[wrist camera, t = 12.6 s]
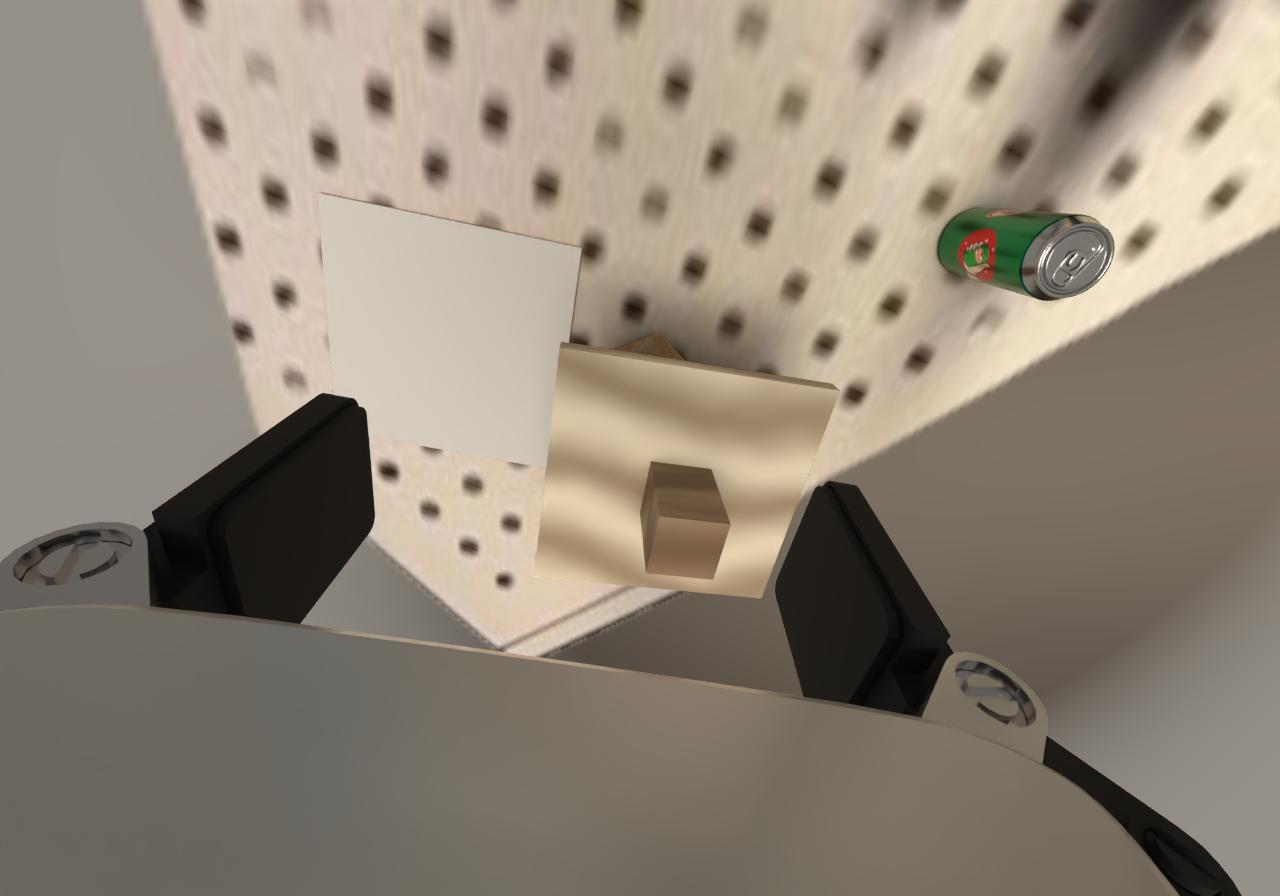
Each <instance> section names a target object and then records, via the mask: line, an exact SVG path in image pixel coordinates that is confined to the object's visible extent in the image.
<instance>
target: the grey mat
mask: <svg viewBox="0 0 1280 896" xmlns="http://www.w3.org/2000/svg"><path fill="white" fill-rule="evenodd" d="M317 195H318V208H319V220H320V233H321V246H322V258H323V271H324V284H325V297H326V309H327V322H328V335H329V347H330V360H331V373H332V386H333V395H338V396H343V397H349V398H354V399H355V400H356V401H357V403H358V405H359V407H363V408H365V410H366V413H367V422H368V435H369V436H370V437H376V438H381V439H387V440H392V441H398V442H403V443H409V444H414V445H420V446H426V447H431V448H437V449H442V450H448V451H453V452H459V453H464V454H470V455H475V456H481V457H486V458H492V459H497V460H503V461H508V462H514V463H520V464H525V465H531V466H536V467H542V468H546V466H547V457H548V447H549V438H550V429H551V420H552V411H553V402H554V393H555V384H556V375H557V366H558V356H559V348H560V344H561V342H567V343H569V342H570V335H571V328H572V320H573V313H574V306H575V298H576V291H577V284H578V276H579V269H580V262H581V254H582V247H577V246H573V245H568V244H563V243H558V242H554V241H549V240H544V239H539V238H535V237H530V236H525V235H520V234H515V233H511V232H506V231H501V230H496V229H492V228H487V227H482V226H477V225H473V224H468V223H463V222H458V221H454V220H449V219H444V218H439V217H435V216H430V215H425V214H420V213H415V212H411V211H406V210H401V209H396V208H392V207H387V206H382V205H377V204H373V203H368V202H363V201H358V200H354V199H349V198H344V197H339V196H335V195H330V194H325V193H317Z"/></svg>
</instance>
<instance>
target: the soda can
mask: <svg viewBox="0 0 1280 896" xmlns="http://www.w3.org/2000/svg"><path fill="white" fill-rule="evenodd" d="M939 255H940V260H941V262H942V264H943V266H944V267H945V268H946V269H947V270H948V271H949V272H951V273H953V274H956V275H959V276H962V277H966V278H969V279H972V280H975V281H979V282H982V283H985V284H989V285H992V286H995V287H999V288H1002V289H1005V290H1009V291H1012V292H1015V293H1019V294H1022V295H1025V296H1029V297H1032V298H1035V299H1039V300H1044V301H1052V300H1059V299H1062V298H1067V297H1072V296H1076V295H1078V294H1081V293H1083V292H1085V291H1087V290H1088V289H1090V288H1091V287H1092V286H1094V285H1095V284H1096V283H1097V282H1098V281H1099V280H1100V279H1101V278H1102V277H1103V275H1104V274H1105V273H1106V271H1107V270H1108V268H1109V266H1110V264H1111V262H1112V259H1113V255H1114V240H1113V237H1112V235H1111V233H1110V232H1109V231H1108V229H1106V228H1105V227H1104V226H1102V225H1101V223H1100V222H1099V221H1097V220H1096V219H1095V218H1092V217H1090V216H1087V215H1081V214H1067V213H1053V212H1039V211H1025V210H1011V209H997V208H974V209H971V210H968V211H966V212H964V213H962V214H960V215H959V216H958V217H956V218H955V219H954V220H953V221H952V222H951V223H950V224H949V226H948V227H947V228H946V230H945V232H944V233H943V236H942V238H941V241H940V246H939Z"/></svg>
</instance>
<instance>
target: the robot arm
mask: <svg viewBox="0 0 1280 896" xmlns="http://www.w3.org/2000/svg"><path fill="white" fill-rule="evenodd" d="M152 514H153V517H154V520H155V522H153V523H152V524H151V525H149V526H148V527H147V528H145V529H144V530H140V529H138V528H137V527H135V526H133V525H128V524H124V523H120V522H97V523H91V524H82V525H77V526H73V527H69V528H65V529H61V530H57V531H54V532H52V533H49V534H46V535H44V536H41V537H38V538H36V539H34V540H32V541H30V542H28V543H27V544H24V545H23V546H21V547H19V548H17V549H15V550H14V551H13V552H12V553H11V554H9V555H8V556H7V557H6V558H5V559H3V560H2V561H1V563H0V896H1241V894H1240V893H1239V891H1238V889H1237V887H1236V885H1235V884H1234V882H1233V881H1232V879H1231V878H1230V877H1229V876H1228V874H1227V873H1226V872H1225V871H1224V870H1223V868H1222V867H1221V866H1220V864H1219V863H1218V862H1217V861H1216V860H1215V859H1214V858H1213V857H1212V856H1211V855H1210V853H1208V851H1207V850H1206V849H1205V848H1203V846H1201V845H1200V844H1199V843H1198V842H1197V841H1195V840H1194V839H1193V838H1191V837H1190V836H1189V835H1188V834H1186V833H1185V832H1184V831H1182V830H1181V829H1180V828H1178V827H1177V826H1176V825H1174V824H1173V823H1172V822H1170V821H1169V820H1167V819H1166V818H1164V817H1163V816H1161V815H1160V814H1159V813H1157V812H1156V811H1154V810H1153V809H1151V808H1150V807H1148V806H1147V805H1146V804H1144V803H1143V802H1141V801H1140V800H1138V799H1137V798H1135V797H1134V796H1133V795H1131V794H1130V793H1128V792H1127V791H1125V790H1124V789H1122V788H1121V787H1120V786H1118V785H1117V784H1115V783H1114V782H1112V781H1111V780H1110V779H1108V778H1107V777H1105V776H1104V775H1102V774H1101V773H1099V772H1098V771H1097V770H1095V769H1094V768H1092V767H1091V766H1089V765H1088V764H1086V763H1085V762H1083V761H1082V760H1081V759H1079V758H1078V757H1076V756H1075V755H1073V754H1072V753H1071V752H1069V751H1068V750H1066V749H1065V748H1063V747H1062V746H1060V745H1059V744H1057V743H1056V742H1055V741H1053V740H1052V739H1050V738H1049V737H1048V736H1047V729H1048V721H1047V714H1046V712H1045V710H1044V707H1043V705H1042V703H1041V702H1040V700H1039V699H1038V698H1037V696H1036V695H1035V694H1034V692H1032V690H1031V689H1030V688H1029V687H1028V686H1027V685H1026V684H1025V683H1024V682H1023V681H1022V680H1021V679H1020V678H1019V677H1018V676H1016V675H1015V674H1013V673H1012V672H1011V671H1009V670H1008V669H1006V668H1005V667H1004V666H1002V665H1000V664H998V663H996V662H994V661H992V660H990V659H988V658H986V657H983V656H980V655H977V654H974V653H964V652H959V653H956V654H954V653H953V652H952V650H951V648H950V647H949V645H948V644H947V640H948V639H949V637H950V634H949V633H948V631H947V629H946V628H945V626H944V625H943V623H942V621H941V620H940V618H939V616H938V615H937V613H936V612H935V610H934V608H933V607H932V605H931V604H930V602H929V601H928V599H927V597H926V596H925V594H924V592H923V591H922V589H921V587H920V586H919V584H918V583H917V581H916V579H915V578H914V576H913V575H912V573H911V571H910V570H909V568H908V567H907V565H906V564H905V562H904V560H903V559H902V557H901V555H900V554H899V552H898V551H897V549H896V547H895V546H894V544H893V543H892V541H891V539H890V538H889V536H888V535H887V533H886V531H885V530H884V528H883V526H882V525H881V523H880V522H879V520H878V518H877V517H876V515H875V514H874V512H873V510H872V509H871V507H870V506H869V504H868V502H867V501H866V499H865V497H864V496H863V494H862V493H861V491H860V489H859V488H858V487H857V486H855V485H850V484H845V483H839V482H833V481H828V482H826V483H825V484H824V486H817V487H816V488H815V490H814V492H813V494H812V497H811V499H810V501H809V504H808V506H807V508H806V511H805V513H804V516H803V518H802V520H801V523H800V525H799V527H798V530H797V532H796V535H795V537H794V539H793V542H792V544H791V547H790V549H789V552H788V554H787V556H786V559H785V561H784V563H783V566H782V568H781V571H780V573H779V576H778V578H777V581H776V588H775V594H776V598H777V602H778V606H779V609H780V613H781V617H782V620H783V624H784V627H785V631H786V634H787V638H788V642H789V645H790V649H791V653H792V656H793V660H794V663H795V667H796V671H797V674H798V678H799V681H800V685H801V689H802V692H803V696H804V697H801V696H795V695H789V694H783V693H776V692H770V691H762V690H756V689H750V688H743V687H736V686H729V685H723V684H715V683H710V682H703V681H696V680H690V679H683V678H676V677H669V676H663V675H656V674H650V673H643V672H636V671H629V670H622V669H615V668H608V667H602V666H595V665H588V664H581V663H574V662H567V661H560V660H553V659H546V658H539V657H533V656H526V655H519V654H512V653H505V652H498V651H490V650H483V649H477V648H469V647H462V646H455V645H448V644H441V643H434V642H426V641H419V640H412V639H405V638H397V637H390V636H383V635H376V634H369V633H361V632H354V631H347V630H340V629H333V628H325V627H318V626H311V625H303V624H300V623H301V622H302V620H303V619H304V618H305V617H306V615H307V614H308V613H309V611H310V610H311V609H312V607H313V606H314V605H315V603H316V602H317V601H318V600H319V598H320V597H321V595H322V594H323V593H324V591H325V590H326V589H327V588H328V586H329V585H330V584H331V582H332V581H333V580H334V579H335V577H336V576H337V575H338V573H339V572H340V571H341V569H342V568H343V567H344V565H345V564H346V563H347V562H348V560H349V559H350V558H351V556H352V555H353V554H354V552H355V551H356V550H357V548H358V547H359V546H360V544H361V543H362V542H363V541H364V539H365V538H366V537H367V535H368V534H369V533H370V531H371V529H372V527H373V524H374V519H375V510H374V497H373V485H372V472H371V460H370V447H369V435H368V422H367V413H366V410H365V408H363V407H359V405H358V403H357V401H356V400H355V399H354V398H349V397H343V396H338V395H332V394H326V393H322V394H320V395H318V396H317V397H315V398H314V399H312V400H311V401H309V402H308V403H307V404H305V405H304V406H302V407H301V408H299V409H298V410H297V411H295V412H294V413H292V414H291V415H289V416H288V417H287V418H285V419H284V420H282V421H281V422H279V423H278V424H277V425H275V426H274V427H272V428H271V429H269V430H268V431H267V432H265V433H264V434H262V435H261V436H259V437H258V438H257V439H255V440H254V441H252V442H251V443H250V444H248V445H247V446H245V447H244V448H242V449H241V450H239V451H238V452H237V453H235V454H234V455H232V456H231V457H229V458H228V459H227V460H225V461H224V462H222V463H221V464H219V465H218V466H217V467H215V468H214V469H212V470H211V471H209V472H208V473H207V474H205V475H204V476H203V477H201V478H199V479H198V480H197V481H195V482H194V483H192V484H191V485H190V486H188V487H187V488H185V489H184V490H182V491H181V492H179V493H178V494H177V495H175V496H174V497H172V498H171V499H169V500H168V501H167V502H165V503H164V504H162V505H161V506H159V507H158V508H157V509H155V510H154V511H152Z"/></svg>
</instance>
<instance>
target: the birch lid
mask: <svg viewBox="0 0 1280 896" xmlns="http://www.w3.org/2000/svg"><path fill="white" fill-rule="evenodd" d="M839 392H840V391H839V390H838V389H837V388H836V387H835V386H834V385H833V384H831V383H824V382H818V381H811V380H805V379H798V378H792V377H786V376H779V375H773V374H766V373H760V372H754V371H747V370H741V369H734V368H728V367H721V366H715V365H709V364H702V363H696V362H689V361H683V360H677V359H670V358H664V357H657V356H651V355H644V354H638V353H632V352H625V351H619V350H612V349H606V348H600V347H593V346H587V345H580V344H574V343H567V342H561V344H560V348H559V356H558V366H557V375H556V384H555V393H554V402H553V411H552V420H551V429H550V438H549V447H548V457H547V466H546V475H545V484H544V493H543V502H542V511H541V520H540V529H539V538H538V548H537V557H536V566H535V575H534V577H543V578H554V579H564V580H575V581H585V582H595V583H606V584H616V585H627V586H637V587H648V588H658V589H669V590H679V591H690V592H701V593H711V594H721V595H732V596H742V597H752V598H761V597H762V595H763V592H764V590H765V587H766V584H767V581H768V579H769V576H770V574H771V571H772V568H773V566H774V563H775V561H776V558H777V555H778V553H779V550H780V547H781V545H782V542H783V539H784V537H785V534H786V531H787V529H788V526H789V524H790V521H791V518H792V516H793V513H794V510H795V508H796V505H797V503H798V500H799V497H800V495H801V492H802V489H803V487H804V484H805V482H806V479H807V476H808V474H809V471H810V468H811V466H812V463H813V460H814V458H815V455H816V453H817V450H818V447H819V445H820V442H821V439H822V437H823V434H824V431H825V429H826V426H827V424H828V421H829V418H830V416H831V413H832V410H833V408H834V405H835V402H836V400H837V397H838V395H839Z"/></svg>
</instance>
